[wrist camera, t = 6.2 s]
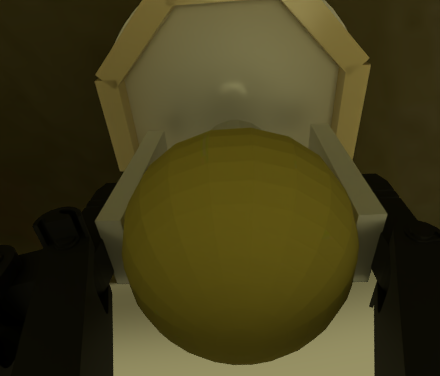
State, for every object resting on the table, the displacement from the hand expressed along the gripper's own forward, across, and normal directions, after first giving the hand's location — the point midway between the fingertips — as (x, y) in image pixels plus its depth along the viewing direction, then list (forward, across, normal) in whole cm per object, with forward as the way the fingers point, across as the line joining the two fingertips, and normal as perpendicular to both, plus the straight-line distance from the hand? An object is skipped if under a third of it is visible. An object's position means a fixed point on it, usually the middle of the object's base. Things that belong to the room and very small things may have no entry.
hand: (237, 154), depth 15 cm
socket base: (+6, 0, 0) cm, 6 cm away
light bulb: (+1, 0, 0) cm, 1 cm away
